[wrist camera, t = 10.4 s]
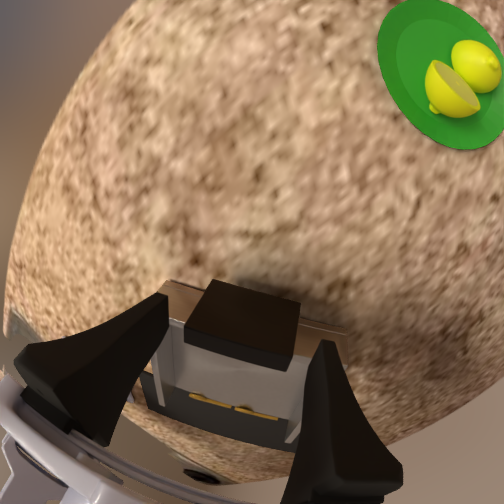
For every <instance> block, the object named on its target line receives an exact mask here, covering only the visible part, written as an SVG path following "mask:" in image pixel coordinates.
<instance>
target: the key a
mask: <svg viewBox="0 0 504 504" xmlns="http://www.w3.org/2000/svg"><path fill="white" fill-rule="evenodd" d="M189 397H191V398H194V399H197V400H200V401H204V402H208V403H212V404H215V405H219V406H223V407H227V408H231V407H232V405H228V404H225V403H222V402H218V401H215V400H211V399H208V398H205V397H202V396H199V395H196V394H192V393H190V394H189Z"/></svg>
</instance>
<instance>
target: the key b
mask: <svg viewBox="0 0 504 504" xmlns="http://www.w3.org/2000/svg"><path fill="white" fill-rule="evenodd" d="M234 410H236V411H239V412H243V413H247V414H251V415H255V416H259V417H263V418H268V419H272V420H278V417H273V416H269V415H265V414H260V413H256V412H253V411H249V410H245V409H242V408H237V407H235V409H234Z"/></svg>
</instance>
